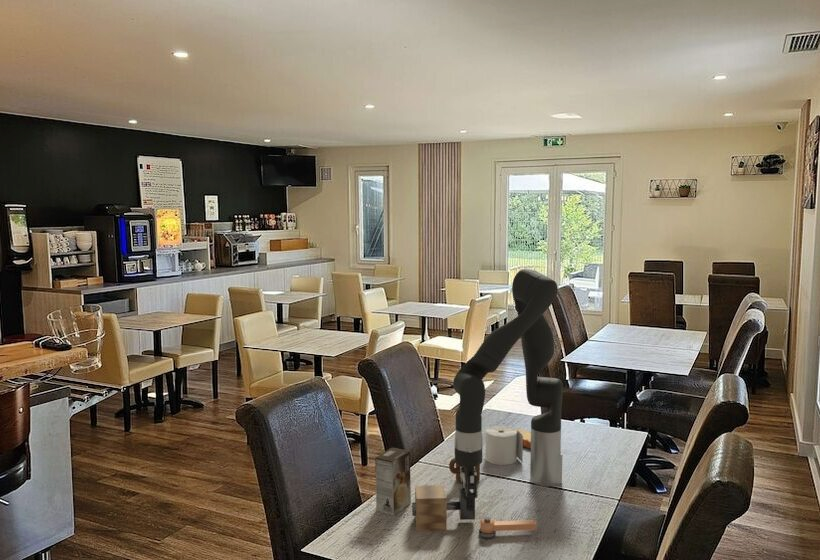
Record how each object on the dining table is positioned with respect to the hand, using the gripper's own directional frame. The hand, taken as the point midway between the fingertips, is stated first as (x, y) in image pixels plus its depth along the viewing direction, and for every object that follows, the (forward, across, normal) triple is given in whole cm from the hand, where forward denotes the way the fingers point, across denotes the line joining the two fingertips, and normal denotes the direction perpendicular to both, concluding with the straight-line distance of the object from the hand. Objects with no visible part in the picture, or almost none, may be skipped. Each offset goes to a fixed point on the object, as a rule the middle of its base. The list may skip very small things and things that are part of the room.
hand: (468, 502), depth 172 cm
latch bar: (+5, +6, +10) cm, 12 cm away
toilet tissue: (+6, -44, +18) cm, 48 cm away
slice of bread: (+6, -59, +29) cm, 66 cm away
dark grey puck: (+6, +6, +4) cm, 10 cm away
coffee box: (+6, -11, -20) cm, 24 cm away
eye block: (+6, -1, -10) cm, 12 cm away
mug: (+6, -26, +2) cm, 26 cm away
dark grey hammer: (+4, -1, -7) cm, 8 cm away
